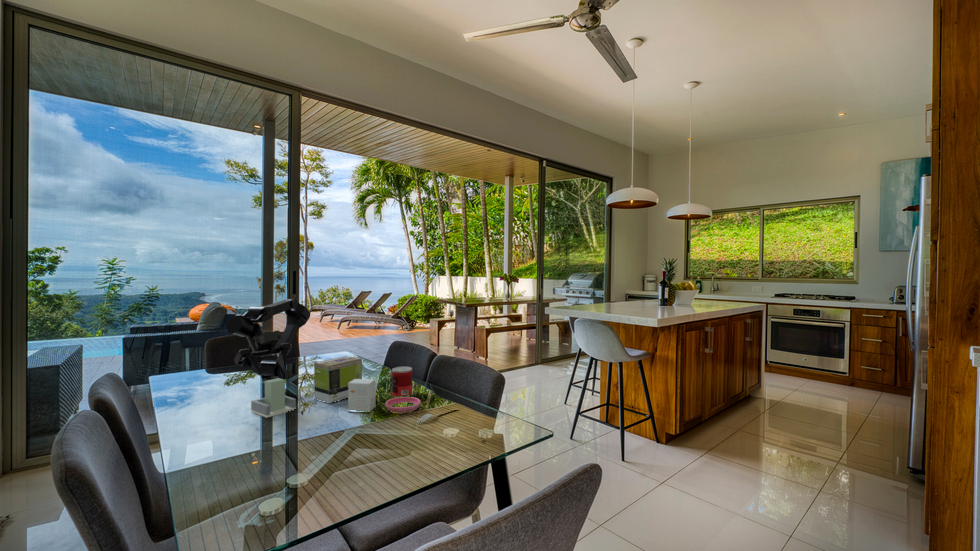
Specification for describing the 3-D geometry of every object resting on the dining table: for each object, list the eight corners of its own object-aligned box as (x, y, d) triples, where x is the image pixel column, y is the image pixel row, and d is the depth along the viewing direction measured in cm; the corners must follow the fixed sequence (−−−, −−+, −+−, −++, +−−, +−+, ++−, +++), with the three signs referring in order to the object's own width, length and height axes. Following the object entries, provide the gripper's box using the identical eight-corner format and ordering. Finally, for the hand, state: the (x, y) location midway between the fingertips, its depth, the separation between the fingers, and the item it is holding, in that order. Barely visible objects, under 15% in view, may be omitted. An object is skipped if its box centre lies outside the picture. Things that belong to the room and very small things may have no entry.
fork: (462, 416, 154) (462, 409, 154) (419, 426, 137) (420, 418, 137) (456, 415, 155) (456, 407, 156) (413, 424, 139) (414, 416, 139)
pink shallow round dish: (401, 418, 144) (401, 409, 144) (377, 411, 151) (377, 402, 151) (427, 409, 154) (427, 400, 154) (404, 402, 161) (404, 394, 161)
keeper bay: (251, 411, 149) (251, 400, 149) (280, 404, 157) (280, 393, 157) (266, 417, 143) (266, 406, 143) (295, 409, 152) (295, 398, 152)
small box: (375, 408, 154) (375, 379, 154) (369, 413, 148) (370, 383, 148) (354, 407, 155) (354, 378, 155) (347, 412, 149) (347, 382, 149)
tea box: (347, 390, 175) (347, 355, 175) (362, 395, 169) (362, 358, 169) (313, 399, 163) (313, 361, 163) (329, 405, 157) (329, 365, 157)
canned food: (415, 394, 171) (415, 367, 171) (405, 400, 163) (405, 371, 163) (398, 392, 173) (399, 365, 173) (388, 398, 166) (388, 370, 166)
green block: (264, 409, 149) (264, 381, 149) (278, 405, 153) (278, 378, 153) (270, 411, 147) (270, 382, 147) (284, 407, 151) (284, 379, 151)
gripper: (238, 326, 146) (255, 362, 140) (289, 321, 161) (307, 353, 155) (226, 347, 150) (243, 383, 144) (277, 340, 166) (294, 372, 160)
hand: (273, 372), depth 151 cm, fingers open, 9 cm apart
